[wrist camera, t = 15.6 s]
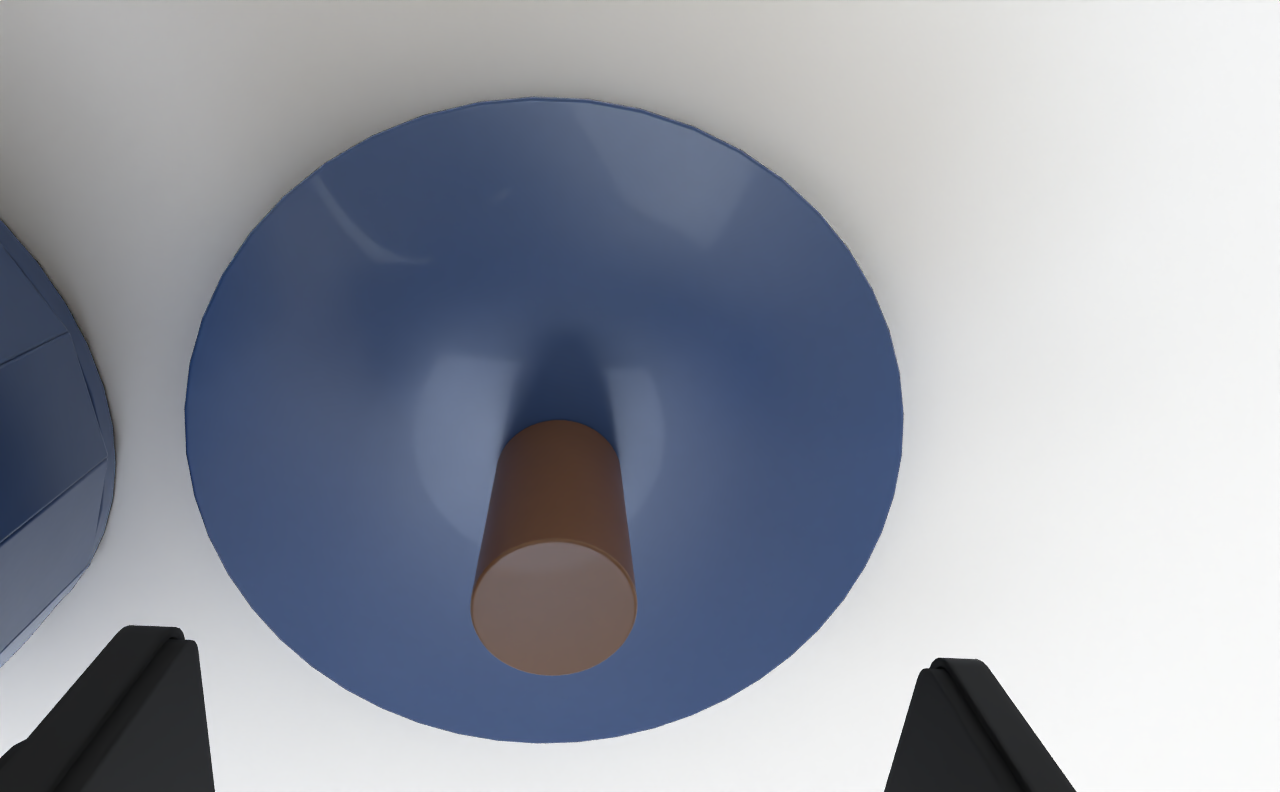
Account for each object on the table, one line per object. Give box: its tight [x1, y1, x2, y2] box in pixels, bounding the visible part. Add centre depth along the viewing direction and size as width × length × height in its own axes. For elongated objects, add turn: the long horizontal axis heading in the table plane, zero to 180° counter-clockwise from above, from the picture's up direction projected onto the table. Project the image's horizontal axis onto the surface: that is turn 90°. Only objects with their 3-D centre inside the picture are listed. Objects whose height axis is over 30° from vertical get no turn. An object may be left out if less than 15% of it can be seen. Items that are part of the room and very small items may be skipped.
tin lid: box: [184, 96, 904, 743], centre depth 15 cm, size 15×15×6 cm
